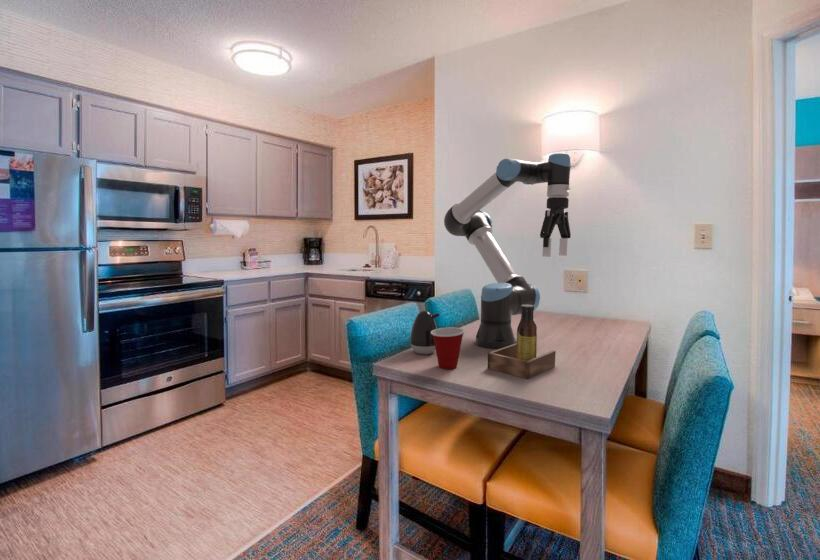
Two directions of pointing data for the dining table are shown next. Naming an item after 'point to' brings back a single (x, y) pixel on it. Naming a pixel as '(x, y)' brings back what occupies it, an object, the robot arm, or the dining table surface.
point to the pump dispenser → (423, 333)
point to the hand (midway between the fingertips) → (554, 256)
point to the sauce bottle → (526, 334)
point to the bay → (519, 362)
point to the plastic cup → (447, 346)
